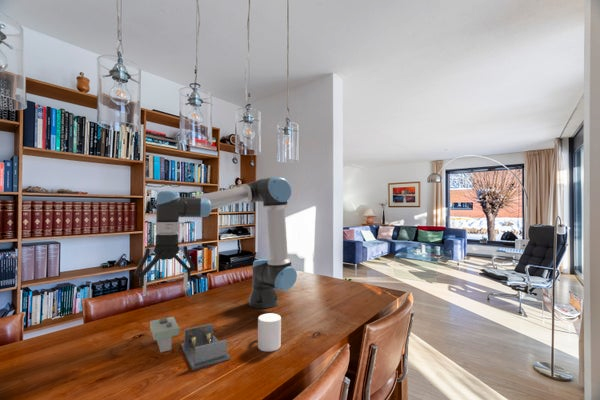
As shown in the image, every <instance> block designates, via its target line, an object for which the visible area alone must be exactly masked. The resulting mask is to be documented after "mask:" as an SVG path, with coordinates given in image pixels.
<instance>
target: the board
mask: <svg viewBox="0 0 600 400" xmlns="http://www.w3.org/2000/svg"><path fill="white" fill-rule="evenodd" d="M149 329H150V331H151V335H152V339H153V341H157V340H158V339H162V338H167V337H171V336H172V337H175V336H180V326H179V324H178V323H177V320H176V318H175V317H174V316H169V317H163V318H159V319H154V320H150V321H149Z"/></svg>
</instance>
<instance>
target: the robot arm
mask: <svg viewBox="0 0 600 400" xmlns="http://www.w3.org/2000/svg"><path fill="white" fill-rule="evenodd" d="M291 196H292V186H291V184H290V183H289V181H287V179H286V178H283V177H280V176H279V177H278V176H273V177H268V178H260V179H256V180H254V181H251V182H247V183H243V184H242V185H241V186H238V187H233V188H228V189H223V190H218V191H213V192H208V193H203V194H198V195H193V196H189V197H188V196H187V197H183V196H180V192H179V191H170V190H169V191H167V190H166V191H165V190H164V191H163V190H162V191H159V192H158V193H157V194H156V203H155V205H156V207H155V208H156V215H155V216H156V219H155V233H156V235H155V246H154V248H149V247H145V249H144V254H143V256H142V258H141V260H140V261H139V263H138V264H137V266H136V268H135V270H134V272H133V276H135V277H139V287H142V295H143V297H146V296H147V274H148V272H149V271H151V269H152V268H153V267H154V266H155V264H156V263H157V262H159V261H160V260H161V261H166V260H173V259H175V261H177V262H178V264H180V266H181V267H183V269H184V270H185V271H183V290H184V291H188V281H189V282H190V281H191V275H192V274H191V272H192V271H196V269H197V268H196V265H195V263H194V262H193V261H194V260H192V257H191V256H190V254H189V251H188V246H187V245H183V246H179V234H178V233H179V224H180V223H179V221H180V220H179V219H180V218H205V217H209V216H210V214H211V212H212V210H215V209H220V208H223V207H228V206H232V205H237V204H240V203H244V202H245V203H246V204H248V203H253V202H254V203H255V202H257V203H258V202H260V203H261V202H262V204H263V208H265V210H266V217H267V231H268V232H267V233H268V245H269V246H268V248H269V258H260V259H256V260H255V259H254V261H253V263H252V286H251V287H252V288H251V289H252V290H251V292H250V295H249V297H248V306H250V307H251V308H256V309H269V308H273V307H276V306H278V304H279V297H278V293H277V291H282V292H286V291H288V290H290V289H291V288H293V287H294V285H295V283H296V282H297V277H298V273H297V270H296V269H295V268H294V267H293V266H292V260H291V259H290V258H289V255H288V253H289V252H288V241H287V226H286V207H287V206H288V201H289V199H290V197H291ZM179 251H180V252H181V253H183V255H184V257H185V259H186V261H187V263H188V265H189V266H190V267H189V266H188V265H187V264H186V263H185V262H184V261H183V260H182V259H181V258H180V256H178V255H177V254H178V253H179ZM152 253H154V254H155V256H154V257H153V258H152V260H150V262H149V263H148V264H147V265H146V266H145V267H144V265H145V263H146V262H147V261H148V258H149V257H150V255H152ZM143 267H144V268H143ZM142 269H143V270H142ZM276 290H277V291H276Z"/></svg>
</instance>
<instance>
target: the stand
mask: <svg viewBox="0 0 600 400" xmlns="http://www.w3.org/2000/svg"><path fill="white" fill-rule="evenodd" d="M172 337H173V336H171V337H167V338H162V339H158V340H156V344H157V345H158V349H159V351H160V353H163V352H167V351H171V350H172V342H173V341H172Z"/></svg>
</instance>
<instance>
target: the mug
mask: <svg viewBox="0 0 600 400" xmlns="http://www.w3.org/2000/svg"><path fill="white" fill-rule="evenodd" d="M281 337H282V317H281V315H280V314H277V313H275V312H274V313H273V312H272V313H271V312H268V313H263V314H260V315H259V316H258V317H257V348H258V349H259V350H260V351H262V352H275V351H278V350H279V349H280V348H281V345H282V343H281V342H282V338H281Z"/></svg>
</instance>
